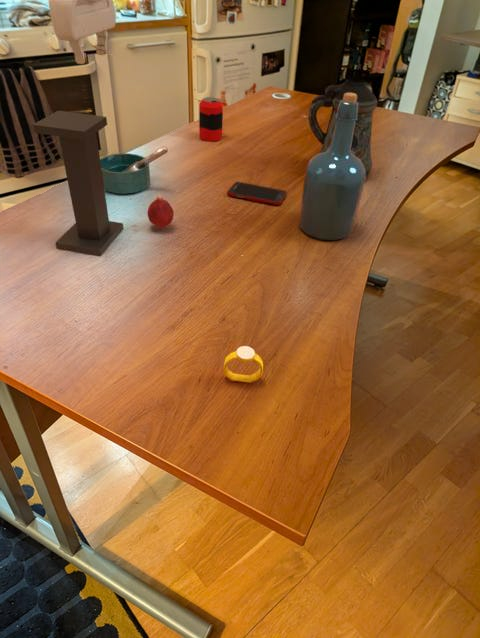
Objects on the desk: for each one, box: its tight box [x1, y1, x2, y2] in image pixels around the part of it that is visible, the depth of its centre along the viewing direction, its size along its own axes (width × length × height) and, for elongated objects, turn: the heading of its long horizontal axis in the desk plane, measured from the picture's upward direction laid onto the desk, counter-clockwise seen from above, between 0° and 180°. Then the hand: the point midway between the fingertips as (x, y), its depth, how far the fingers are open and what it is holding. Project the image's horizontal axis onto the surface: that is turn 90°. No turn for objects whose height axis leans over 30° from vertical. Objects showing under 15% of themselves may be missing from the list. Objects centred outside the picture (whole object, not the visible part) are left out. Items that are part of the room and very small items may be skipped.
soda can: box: [198, 96, 224, 143], centre depth 150 cm, size 8×8×12 cm
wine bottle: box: [298, 93, 367, 241], centre depth 101 cm, size 14×13×30 cm
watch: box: [222, 345, 264, 384], centre depth 70 cm, size 6×3×6 cm, turn 87°
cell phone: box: [226, 181, 288, 206], centre depth 122 cm, size 8×15×1 cm, turn 71°
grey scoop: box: [122, 146, 169, 172], centre depth 118 cm, size 16×7×2 cm
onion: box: [146, 194, 175, 229], centre depth 104 cm, size 6×6×8 cm
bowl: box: [100, 152, 151, 195], centre depth 121 cm, size 13×13×6 cm
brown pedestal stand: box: [32, 110, 124, 257], centre depth 93 cm, size 10×12×25 cm
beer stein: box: [307, 77, 378, 178], centre depth 129 cm, size 16×19×25 cm
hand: (92, 58), depth 98 cm, fingers open, 8 cm apart
